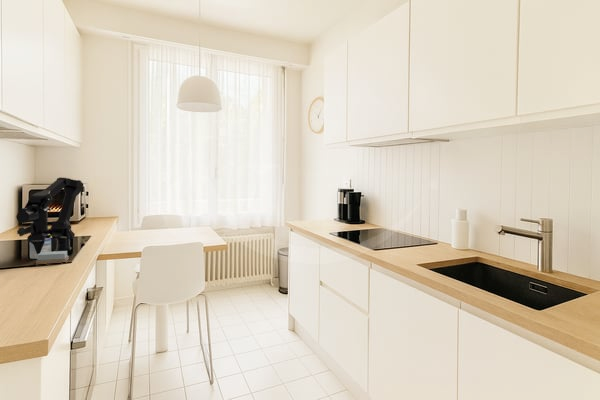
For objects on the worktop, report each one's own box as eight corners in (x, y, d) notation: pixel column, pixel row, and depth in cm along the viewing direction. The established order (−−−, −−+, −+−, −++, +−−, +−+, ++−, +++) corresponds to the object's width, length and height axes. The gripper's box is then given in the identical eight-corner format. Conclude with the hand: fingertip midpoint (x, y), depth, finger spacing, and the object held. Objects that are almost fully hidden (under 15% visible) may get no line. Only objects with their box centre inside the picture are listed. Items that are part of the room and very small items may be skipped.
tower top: (41, 257, 151) (41, 252, 151) (67, 255, 156) (67, 250, 156) (37, 260, 146) (37, 254, 146) (64, 258, 150) (64, 253, 150)
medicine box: (38, 259, 155) (38, 241, 155) (29, 258, 155) (29, 240, 155) (51, 255, 163) (51, 238, 163) (42, 254, 163) (42, 237, 163)
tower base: (39, 262, 152) (39, 257, 152) (68, 260, 157) (68, 255, 157) (36, 266, 146) (35, 260, 145) (65, 264, 151) (65, 259, 150)
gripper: (24, 218, 163) (25, 248, 164) (12, 223, 146) (13, 257, 147) (52, 217, 168) (52, 247, 169) (43, 222, 151) (44, 255, 152)
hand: (40, 251), depth 159 cm, fingers closed on medicine box, 9 cm apart
